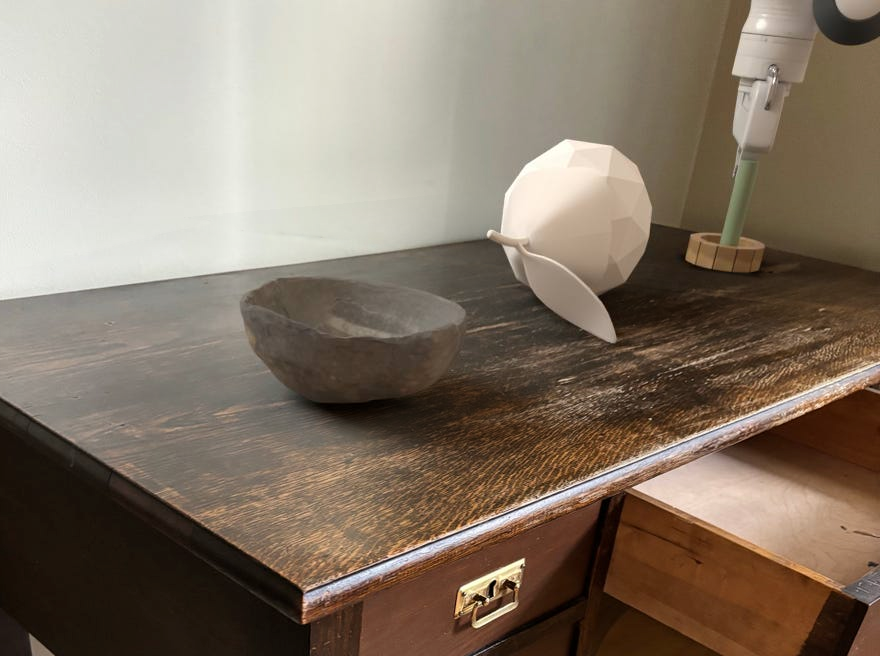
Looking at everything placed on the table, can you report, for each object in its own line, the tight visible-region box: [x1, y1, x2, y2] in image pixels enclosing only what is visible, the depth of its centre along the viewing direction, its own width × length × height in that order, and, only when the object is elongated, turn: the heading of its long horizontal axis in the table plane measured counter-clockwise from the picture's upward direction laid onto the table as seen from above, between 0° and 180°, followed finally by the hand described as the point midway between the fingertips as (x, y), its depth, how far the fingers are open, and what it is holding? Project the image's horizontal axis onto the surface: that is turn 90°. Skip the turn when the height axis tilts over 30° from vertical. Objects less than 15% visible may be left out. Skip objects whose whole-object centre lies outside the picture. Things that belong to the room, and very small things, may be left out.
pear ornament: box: [486, 138, 653, 344], centre depth 105 cm, size 16×22×28 cm
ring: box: [685, 232, 766, 273], centre depth 131 cm, size 10×10×3 cm
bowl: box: [239, 275, 468, 404], centre depth 78 cm, size 18×18×8 cm
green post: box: [720, 159, 761, 246], centre depth 128 cm, size 8×8×14 cm
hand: (739, 183), depth 129 cm, fingers open, 3 cm apart
